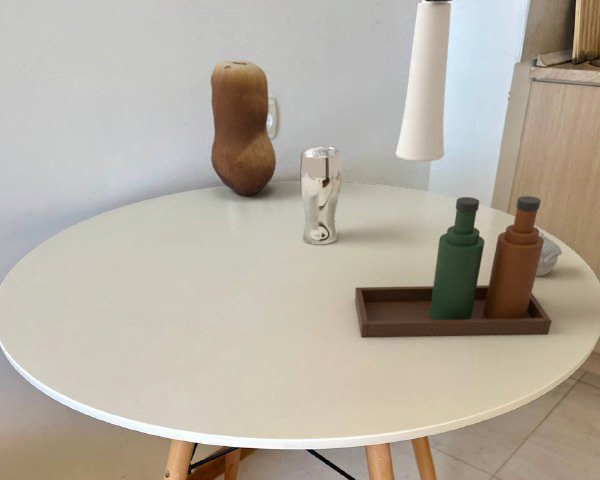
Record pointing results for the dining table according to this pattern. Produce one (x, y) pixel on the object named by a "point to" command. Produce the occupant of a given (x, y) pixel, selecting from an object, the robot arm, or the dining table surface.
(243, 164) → the butternut squash
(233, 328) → the dining table surface
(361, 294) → the tray
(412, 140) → the cosmetic bottle
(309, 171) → the beer glass
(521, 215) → the amber bottle
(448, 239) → the green bottle
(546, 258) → the frog figurine
